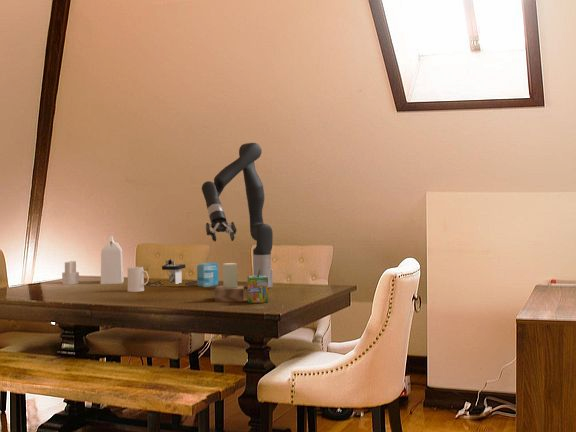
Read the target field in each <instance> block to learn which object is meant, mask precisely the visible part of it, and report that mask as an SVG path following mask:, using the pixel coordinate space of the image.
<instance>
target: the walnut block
mask: <svg viewBox="0 0 576 432" xmlns="http://www.w3.org/2000/svg"><path fill="white" fill-rule="evenodd" d="M244 291H245V287H244V285H238V287H237V288H225V287H224V285H215V288H214V302H215V303H221V302H222V303H224V302H228V303H229V302H230V303H231V302H244V301H245V292H244Z"/></svg>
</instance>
